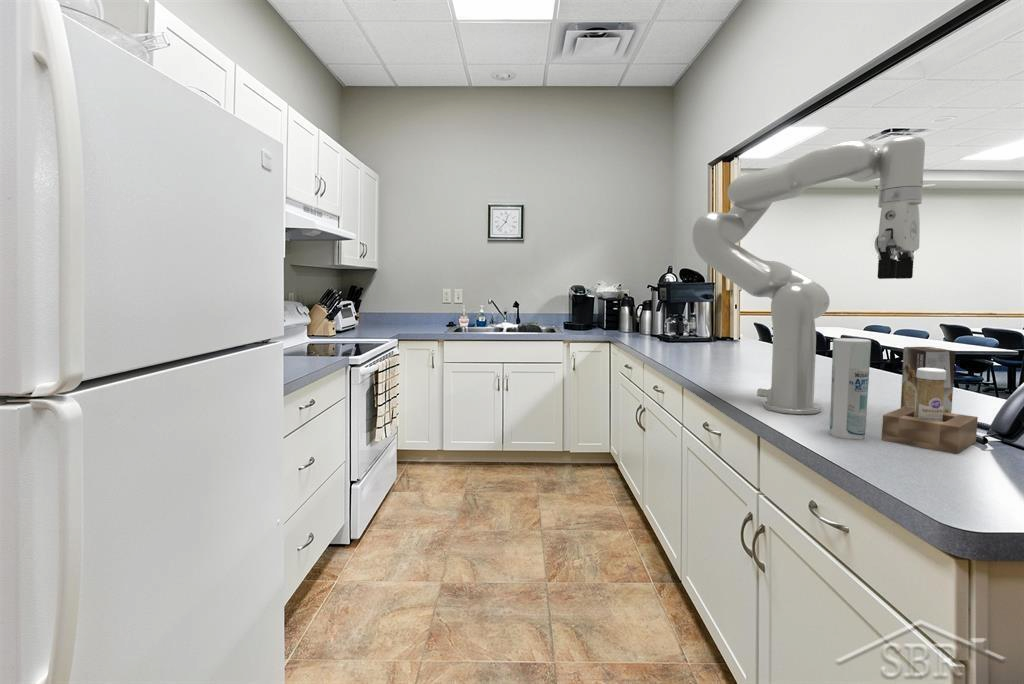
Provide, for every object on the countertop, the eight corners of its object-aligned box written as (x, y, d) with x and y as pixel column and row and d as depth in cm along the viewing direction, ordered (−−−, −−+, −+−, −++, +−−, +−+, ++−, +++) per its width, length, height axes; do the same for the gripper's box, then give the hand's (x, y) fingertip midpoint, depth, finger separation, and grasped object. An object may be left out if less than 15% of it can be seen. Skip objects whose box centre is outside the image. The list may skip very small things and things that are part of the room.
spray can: (841, 429, 114) (845, 337, 112) (872, 436, 108) (878, 339, 106) (822, 433, 111) (826, 339, 109) (853, 441, 105) (858, 341, 103)
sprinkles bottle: (926, 439, 102) (931, 370, 101) (906, 432, 107) (910, 367, 105) (948, 438, 103) (952, 370, 101) (927, 431, 107) (931, 366, 106)
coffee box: (952, 421, 119) (957, 350, 117) (921, 420, 120) (926, 350, 118) (926, 411, 128) (931, 346, 126) (898, 411, 129) (902, 346, 127)
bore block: (881, 439, 106) (882, 415, 105) (903, 429, 113) (904, 406, 112) (957, 454, 96) (959, 427, 96) (975, 441, 103) (977, 416, 103)
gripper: (906, 191, 105) (901, 278, 106) (934, 199, 115) (929, 278, 117) (863, 197, 111) (859, 279, 112) (894, 204, 121) (890, 279, 123)
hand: (895, 278), depth 115 cm, fingers open, 9 cm apart
